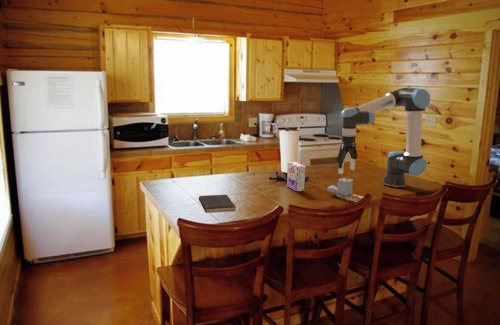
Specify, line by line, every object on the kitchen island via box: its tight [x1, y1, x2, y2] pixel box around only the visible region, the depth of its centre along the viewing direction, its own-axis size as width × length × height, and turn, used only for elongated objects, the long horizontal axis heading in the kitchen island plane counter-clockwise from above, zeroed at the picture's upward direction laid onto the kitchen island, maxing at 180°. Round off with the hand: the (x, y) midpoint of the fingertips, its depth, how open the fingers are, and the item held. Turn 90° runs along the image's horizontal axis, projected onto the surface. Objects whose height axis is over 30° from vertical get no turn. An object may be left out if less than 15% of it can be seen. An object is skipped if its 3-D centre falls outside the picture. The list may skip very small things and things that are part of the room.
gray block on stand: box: [335, 178, 354, 198], centre depth 236 cm, size 7×7×11 cm
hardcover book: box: [198, 194, 237, 212], centre depth 218 cm, size 16×23×2 cm
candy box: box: [286, 161, 306, 192], centre depth 251 cm, size 14×6×16 cm, turn 21°
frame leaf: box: [346, 193, 364, 202], centre depth 232 cm, size 9×7×2 cm
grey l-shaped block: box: [326, 177, 354, 195], centre depth 238 cm, size 6×13×8 cm, turn 48°
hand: (346, 171), depth 234 cm, fingers open, 13 cm apart
